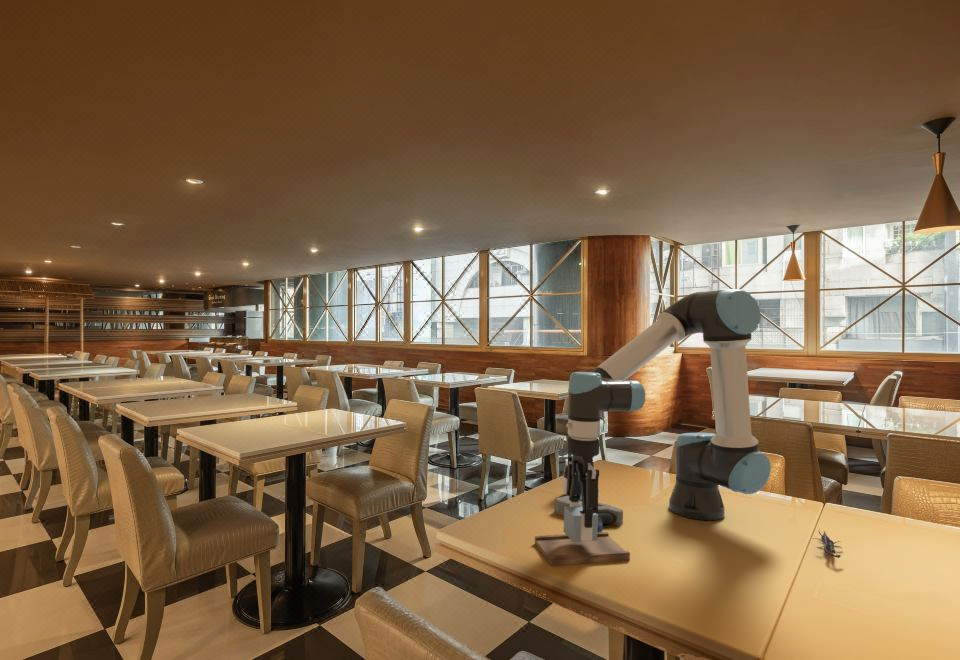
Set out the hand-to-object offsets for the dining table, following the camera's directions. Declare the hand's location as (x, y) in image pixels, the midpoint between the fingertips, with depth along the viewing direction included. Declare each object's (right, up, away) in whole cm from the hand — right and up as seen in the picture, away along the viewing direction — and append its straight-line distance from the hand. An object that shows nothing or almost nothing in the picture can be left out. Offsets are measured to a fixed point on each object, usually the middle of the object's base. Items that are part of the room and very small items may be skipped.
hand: (580, 534), depth 121 cm
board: (0, -4, 0) cm, 4 cm away
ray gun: (+4, -5, +20) cm, 21 cm away
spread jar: (+8, -5, +38) cm, 39 cm away
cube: (0, 0, 0) cm, 1 cm away
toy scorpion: (+61, -6, +4) cm, 61 cm away
